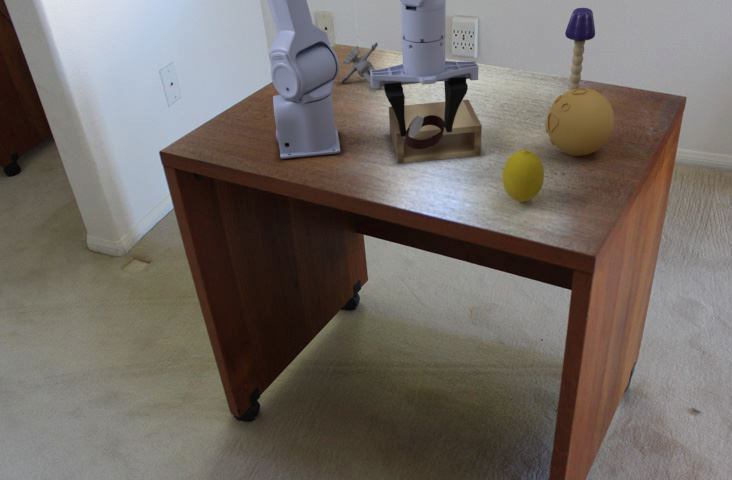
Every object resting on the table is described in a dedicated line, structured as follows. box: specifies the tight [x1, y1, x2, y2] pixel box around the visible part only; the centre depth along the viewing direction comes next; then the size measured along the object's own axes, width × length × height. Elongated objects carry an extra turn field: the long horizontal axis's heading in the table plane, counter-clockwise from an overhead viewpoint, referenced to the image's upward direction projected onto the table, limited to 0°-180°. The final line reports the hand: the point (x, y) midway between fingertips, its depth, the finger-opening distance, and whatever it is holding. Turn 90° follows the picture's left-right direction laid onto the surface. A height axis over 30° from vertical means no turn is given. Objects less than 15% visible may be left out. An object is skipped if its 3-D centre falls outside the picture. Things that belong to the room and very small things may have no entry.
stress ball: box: [544, 86, 615, 157], centre depth 112 cm, size 10×10×10 cm
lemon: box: [502, 149, 545, 204], centre depth 102 cm, size 6×6×8 cm
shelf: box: [388, 99, 483, 164], centre depth 118 cm, size 13×10×5 cm
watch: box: [405, 115, 445, 149], centre depth 106 cm, size 8×5×4 cm, turn 145°
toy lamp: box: [564, 7, 596, 91], centre depth 122 cm, size 5×5×17 cm
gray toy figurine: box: [340, 42, 379, 85], centre depth 140 cm, size 10×6×9 cm
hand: (425, 131), depth 106 cm, fingers closed on watch, 6 cm apart
